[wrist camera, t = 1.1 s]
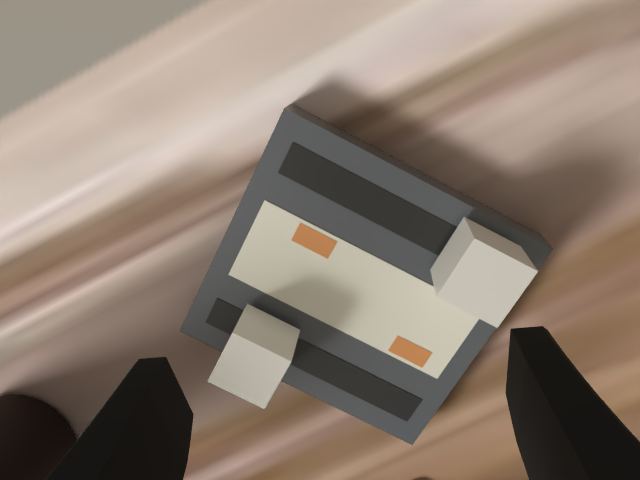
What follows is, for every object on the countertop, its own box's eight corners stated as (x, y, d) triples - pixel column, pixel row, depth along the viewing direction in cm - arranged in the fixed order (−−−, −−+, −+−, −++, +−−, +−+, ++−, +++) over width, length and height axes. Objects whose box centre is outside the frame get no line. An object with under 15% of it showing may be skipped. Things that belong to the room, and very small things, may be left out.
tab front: (520, 246, 26) (538, 271, 23) (485, 297, 27) (497, 328, 24) (463, 216, 25) (474, 238, 23) (430, 269, 26) (436, 296, 24)
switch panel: (541, 235, 28) (553, 249, 26) (410, 421, 32) (412, 445, 30) (291, 103, 27) (284, 108, 25) (191, 313, 31) (179, 331, 29)
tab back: (300, 329, 28) (291, 361, 25) (275, 373, 29) (264, 409, 26) (247, 303, 28) (232, 332, 25) (224, 348, 29) (207, 381, 26)
